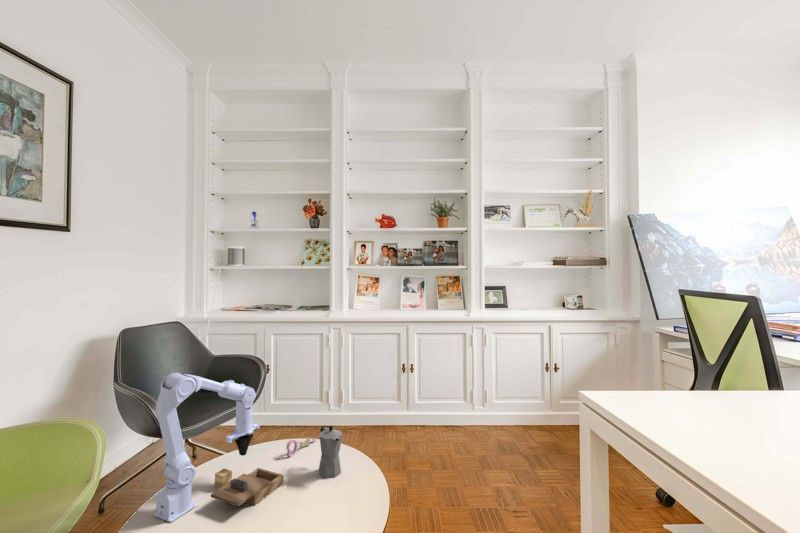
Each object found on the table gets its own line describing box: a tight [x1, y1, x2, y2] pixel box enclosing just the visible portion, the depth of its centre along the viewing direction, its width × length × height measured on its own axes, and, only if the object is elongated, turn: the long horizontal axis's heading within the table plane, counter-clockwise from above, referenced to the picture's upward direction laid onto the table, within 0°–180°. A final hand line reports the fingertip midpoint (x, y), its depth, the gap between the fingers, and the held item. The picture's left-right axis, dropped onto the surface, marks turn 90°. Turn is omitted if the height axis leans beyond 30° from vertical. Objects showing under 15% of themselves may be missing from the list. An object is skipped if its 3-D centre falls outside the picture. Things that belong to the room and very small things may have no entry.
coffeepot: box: [318, 425, 343, 479], centre depth 147 cm, size 15×9×18 cm, turn 36°
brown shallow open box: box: [244, 467, 284, 506], centre depth 133 cm, size 14×12×3 cm
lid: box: [210, 473, 269, 507], centre depth 126 cm, size 14×12×4 cm
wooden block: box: [214, 468, 233, 490], centre depth 135 cm, size 4×4×5 cm
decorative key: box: [285, 436, 318, 458], centre depth 165 cm, size 7×1×20 cm
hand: (242, 454), depth 140 cm, fingers closed
